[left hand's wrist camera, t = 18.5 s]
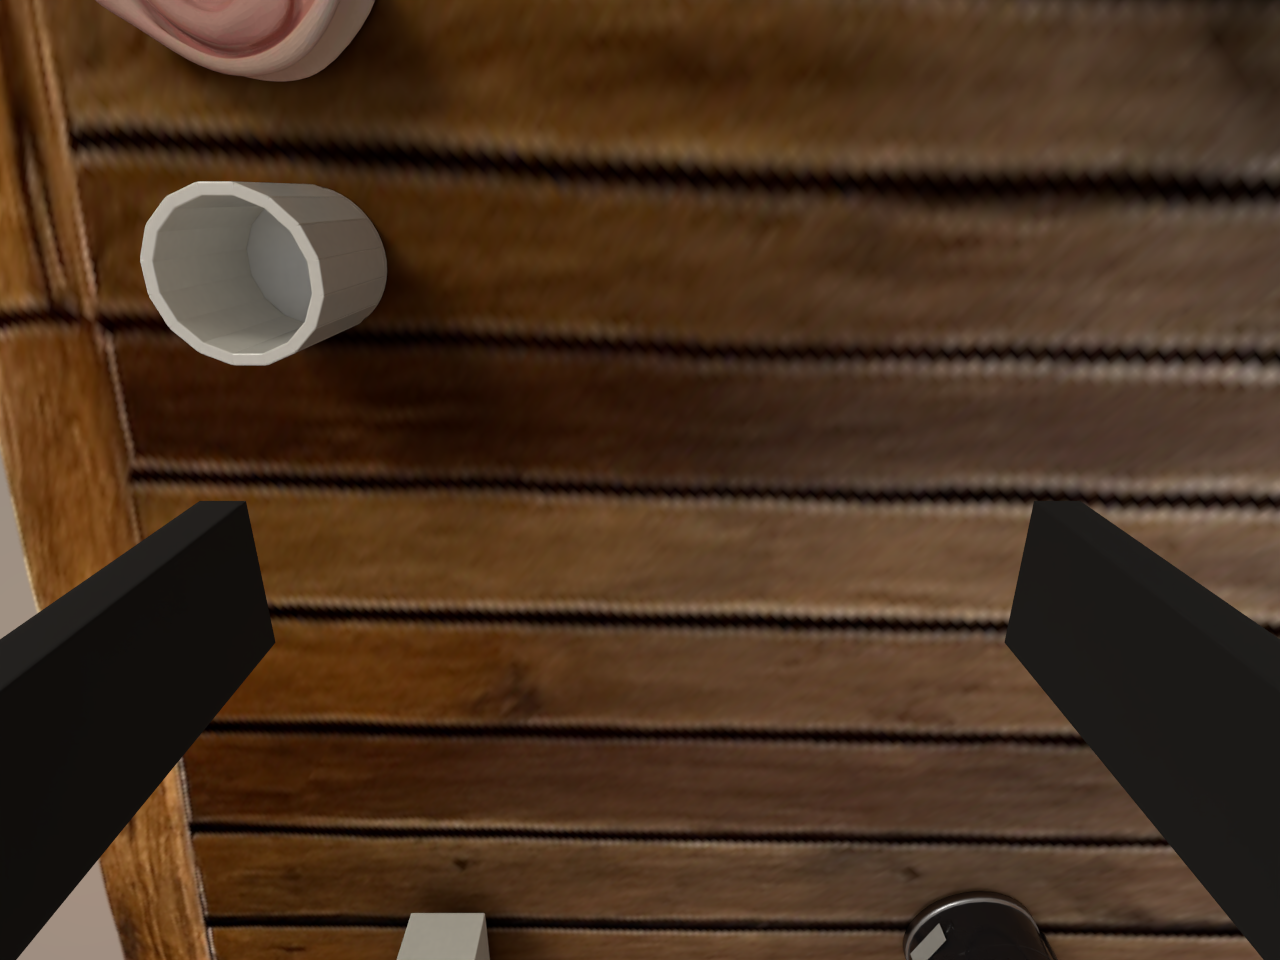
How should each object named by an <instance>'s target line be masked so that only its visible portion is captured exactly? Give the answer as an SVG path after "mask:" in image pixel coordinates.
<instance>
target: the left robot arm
mask: <svg viewBox="0 0 1280 960" xmlns="http://www.w3.org/2000/svg"><path fill="white" fill-rule="evenodd" d="M274 643H275V638H274V634H273V629H272V624H271V619H270V614H269V610H268V605H267V600H266V595H265V591H264V586H263V581H262V576H261V571H260V567H259V562H258V557H257V552H256V547H255V543H254V538H253V533H252V528H251V524H250V519H249V514H248V509H247V504H246V501H199V502H198V503H196V504H195V505H193V506H192V507H191V508H189V509H188V510H186V511H185V512H183V513H182V514H180V515H179V516H178V517H176V518H175V519H173V520H172V521H170V522H169V523H167V524H166V525H165V526H163V527H162V528H160V529H159V530H157V531H156V532H155V533H153V534H152V535H150V536H149V537H147V538H146V539H144V540H143V541H142V542H140V543H139V544H137V545H136V546H134V547H133V548H131V549H130V550H129V551H127V552H126V553H124V554H123V555H121V556H120V557H118V558H117V559H116V560H114V561H113V562H111V563H110V564H108V565H107V566H105V567H104V568H103V569H101V570H100V571H98V572H97V573H95V574H94V575H92V576H91V577H90V578H88V579H87V580H85V581H84V582H82V583H81V584H79V585H78V586H77V587H75V588H74V589H72V590H71V591H69V592H68V593H66V594H65V595H64V596H62V597H61V598H59V599H58V600H56V601H55V602H54V603H52V604H51V605H49V606H48V607H46V608H45V609H43V610H42V611H41V612H39V613H38V614H36V615H35V616H33V617H32V618H30V619H29V620H28V621H26V622H25V623H23V624H22V625H20V626H19V627H17V628H16V629H15V630H13V631H12V632H10V633H9V634H7V635H6V636H4V637H3V638H2V639H0V960H16V959H17V958H18V957H19V956H20V954H21V953H22V952H23V951H24V950H25V948H26V947H27V946H28V945H29V943H30V942H31V941H32V940H33V938H34V937H35V936H36V935H37V934H38V932H39V931H40V930H41V929H42V928H43V926H44V925H45V924H46V923H47V921H48V920H49V919H50V918H51V916H52V915H53V914H54V913H55V912H56V910H57V909H58V908H59V907H60V905H61V904H62V903H63V902H64V901H65V899H66V898H67V897H68V896H69V894H70V893H71V892H72V891H73V890H74V888H75V887H76V886H77V885H78V883H79V882H80V881H81V880H82V879H83V877H84V876H85V875H86V874H87V872H88V871H89V870H90V869H91V868H92V866H93V865H94V864H95V863H96V861H97V860H98V859H99V858H100V857H101V855H102V854H103V853H104V852H105V850H106V849H107V848H108V847H109V845H110V844H111V843H112V842H113V841H114V839H115V838H116V837H117V836H118V834H119V833H120V832H121V831H122V830H123V828H124V827H125V826H126V825H127V823H128V822H129V821H130V820H131V819H132V817H133V816H134V815H135V814H136V812H137V811H138V810H139V809H140V808H141V806H142V805H143V804H144V803H145V801H146V800H147V799H148V798H149V797H150V795H151V794H152V793H153V792H154V790H155V789H156V788H157V787H158V786H159V784H160V783H161V782H162V781H163V779H164V778H165V777H166V776H167V774H168V773H169V772H170V771H171V770H172V768H173V767H174V766H175V765H176V763H177V762H178V761H179V760H180V759H181V757H182V756H183V755H184V754H185V752H186V751H187V750H188V749H189V748H190V746H191V745H192V744H193V743H194V741H195V740H196V739H197V738H198V737H199V735H200V734H201V733H202V732H203V730H204V729H205V728H206V727H207V726H208V724H209V723H210V722H211V721H212V719H213V718H214V717H215V716H216V715H217V713H218V712H219V711H220V710H221V708H222V707H223V706H224V705H225V703H226V702H227V701H228V700H229V699H230V697H231V696H232V695H233V694H234V692H235V691H236V690H237V689H238V688H239V686H240V685H241V684H242V683H243V681H244V680H245V679H246V678H247V677H248V675H249V674H250V673H251V672H252V670H253V669H254V668H255V667H256V666H257V664H258V663H259V662H260V661H261V659H262V658H263V657H264V656H265V655H266V653H267V652H268V651H269V650H270V648H271V647H272V646H273V645H274ZM1005 643H1006V645H1007V646H1008V647H1009V648H1010V650H1011V651H1012V652H1013V653H1014V655H1015V656H1016V657H1017V658H1018V659H1019V661H1020V662H1021V663H1022V664H1023V666H1024V667H1025V668H1026V669H1027V670H1028V672H1029V673H1030V674H1031V675H1032V677H1033V678H1034V679H1035V680H1036V681H1037V683H1038V684H1039V685H1040V686H1041V688H1042V689H1043V690H1044V691H1045V692H1046V694H1047V695H1048V696H1049V697H1050V699H1051V700H1052V701H1053V702H1054V703H1055V705H1056V706H1057V707H1058V708H1059V710H1060V711H1061V712H1062V713H1063V715H1064V716H1065V717H1066V718H1067V719H1068V721H1069V722H1070V723H1071V724H1072V726H1073V727H1074V728H1075V729H1076V730H1077V732H1078V733H1079V734H1080V735H1081V737H1082V738H1083V739H1084V740H1085V741H1086V743H1087V744H1088V745H1089V746H1090V748H1091V749H1092V750H1093V751H1094V752H1095V754H1096V755H1097V756H1098V757H1099V759H1100V760H1101V761H1102V762H1103V763H1104V765H1105V766H1106V767H1107V768H1108V770H1109V771H1110V772H1111V773H1112V774H1113V776H1114V777H1115V778H1116V779H1117V781H1118V782H1119V783H1120V784H1121V786H1122V787H1123V788H1124V789H1125V790H1126V792H1127V793H1128V794H1129V795H1130V797H1131V798H1132V799H1133V800H1134V801H1135V803H1136V804H1137V805H1138V806H1139V808H1140V809H1141V810H1142V811H1143V812H1144V814H1145V815H1146V816H1147V817H1148V819H1149V820H1150V821H1151V822H1152V823H1153V825H1154V826H1155V827H1156V828H1157V830H1158V831H1159V832H1160V833H1161V834H1162V836H1163V837H1164V838H1165V839H1166V841H1167V842H1168V843H1169V844H1170V845H1171V847H1172V848H1173V849H1174V850H1175V852H1176V853H1177V854H1178V855H1179V857H1180V858H1181V859H1182V860H1183V861H1184V863H1185V864H1186V865H1187V866H1188V868H1189V869H1190V870H1191V871H1192V872H1193V874H1194V875H1195V876H1196V877H1197V879H1198V880H1199V881H1200V882H1201V883H1202V885H1203V886H1204V887H1205V888H1206V890H1207V891H1208V892H1209V893H1210V894H1211V896H1212V897H1213V898H1214V899H1215V901H1216V902H1217V903H1218V904H1219V905H1220V907H1221V908H1222V909H1223V910H1224V912H1225V913H1226V914H1227V915H1228V916H1229V918H1230V919H1231V920H1232V921H1233V923H1234V924H1235V925H1236V926H1237V928H1238V929H1239V930H1240V931H1241V932H1242V934H1243V935H1244V936H1245V937H1246V939H1247V940H1248V941H1249V942H1250V943H1251V945H1252V946H1253V947H1254V948H1255V950H1256V951H1257V952H1258V953H1259V954H1260V956H1261V957H1262V958H1263V959H1264V960H1280V639H1278V638H1277V637H1276V636H1274V635H1273V634H1271V633H1270V632H1268V631H1267V630H1265V629H1264V628H1263V627H1261V626H1260V625H1258V624H1257V623H1255V622H1254V621H1252V620H1251V619H1250V618H1248V617H1247V616H1245V615H1244V614H1242V613H1241V612H1239V611H1238V610H1237V609H1235V608H1234V607H1232V606H1231V605H1229V604H1228V603H1226V602H1225V601H1224V600H1222V599H1221V598H1219V597H1218V596H1216V595H1215V594H1214V593H1212V592H1211V591H1209V590H1208V589H1206V588H1205V587H1203V586H1202V585H1201V584H1199V583H1198V582H1196V581H1195V580H1193V579H1192V578H1190V577H1189V576H1188V575H1186V574H1185V573H1183V572H1182V571H1180V570H1179V569H1177V568H1176V567H1175V566H1173V565H1172V564H1170V563H1169V562H1167V561H1166V560H1164V559H1163V558H1162V557H1160V556H1159V555H1157V554H1156V553H1154V552H1153V551H1151V550H1150V549H1149V548H1147V547H1146V546H1144V545H1143V544H1141V543H1140V542H1138V541H1137V540H1136V539H1134V538H1133V537H1131V536H1130V535H1128V534H1127V533H1125V532H1124V531H1123V530H1121V529H1120V528H1118V527H1117V526H1115V525H1114V524H1113V523H1111V522H1110V521H1108V520H1107V519H1105V518H1104V517H1102V516H1101V515H1100V514H1098V513H1097V512H1095V511H1094V510H1092V509H1091V508H1089V507H1088V506H1087V505H1085V504H1084V503H1082V502H1081V501H1034V504H1033V509H1032V514H1031V519H1030V524H1029V528H1028V533H1027V538H1026V543H1025V547H1024V552H1023V557H1022V562H1021V567H1020V571H1019V576H1018V581H1017V586H1016V591H1015V595H1014V600H1013V605H1012V610H1011V614H1010V619H1009V624H1008V629H1007V634H1006V638H1005Z"/></svg>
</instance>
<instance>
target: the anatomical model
mask: <svg viewBox="0 0 1280 960" xmlns="http://www.w3.org/2000/svg"><path fill="white" fill-rule="evenodd" d="M96 1H97V2H98V3H99V4H100V5H102V6H103V7H105V8H106V9H107V10H109V11H110V12H112V13H114V14H115V15H117V16H119V17H120V18H122V19H124V20H125V21H127V22H128V23H130V24H132V25H133V26H135V27H137V28H138V29H140V30H141V31H143V32H144V33H146V34H147V35H149V36H151V37H152V38H154V39H155V40H157V41H158V42H160V43H161V44H163V45H164V46H166V47H167V48H169V49H171V50H172V51H174V52H176V53H177V54H179V55H181V56H182V57H184V58H186V59H188V60H190V61H192V62H194V63H196V64H198V65H200V66H203V67H205V68H207V69H210V70H213V71H216V72H220V73H223V74H228V75H236V76H245V77H248V78H253V79H258V80H266V81H293V80H299V79H303V78H307V77H310V76H312V75H314V74H316V73H318V72H320V71H321V70H323V69H324V68H325V67H327V66H328V65H329V64H330V63H331V62H333V61H334V60H335V59H336V58H337V57H338V56H339V55H340V54H341V53H342V51H343V50H344V49H345V48H346V47H347V46H348V45H349V44H350V42H351V41H352V40H353V38H354V37H355V36H356V34H357V33H358V31H359V30H360V29H361V27H362V25H363V24H364V22H365V20H366V18H367V17H368V15H369V13H370V11H371V9H372V6H373V4H374V2H375V0H96Z"/></svg>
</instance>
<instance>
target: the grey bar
mask: <svg viewBox="0 0 1280 960" xmlns="http://www.w3.org/2000/svg"><path fill="white" fill-rule="evenodd" d="M397 960H490V956H489V947H488V937H487V928H486V918H485V913H411V916H410V919H409V922H408V926H407V929H406V932H405V935H404V938H403V941H402V945H401V948H400V951H399V954H398V957H397Z"/></svg>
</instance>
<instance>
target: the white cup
mask: <svg viewBox="0 0 1280 960" xmlns="http://www.w3.org/2000/svg"><path fill="white" fill-rule="evenodd" d="M140 259H141V260H140V262H141V266H142V270H143V275H144V279H145V283H146V287H147V292H148V295H150V296H149V297H150V299H151V300H152V302H153V303H154V305H155V307H156V308H157V310H158V311H159V313H160V314H161V316H162V317H163V319H164V321H165V322H166V324H167V325H168V327H169V328H170V329H171V330H172V331H173V332H175V333H176V334H177V335H178V336H180V337H181V338H182V339H183V340H184V341H186V342H187V343H188V344H189V345H191V346H192V347H193V348H194V349H195V350H197V351H198V352H200V353H202V354H205V355H207V356H210V357H212V358H215V359H218V360H220V361H223V362H226V363H228V364H231V365H269V364H272V363H274V362H276V361H278V360H281V359H283V358H285V357H288V356H290V355H292V354H294V353H297V352H299V351H301V350H303V349H305V348H307V347H310V346H312V345H314V344H316V343H318V342H321V341H323V340H325V339H327V338H329V337H332V336H334V335H336V334H338V333H340V332H343V331H345V330H347V329H349V328H351V327H354V326H356V325H358V324H359V323H361V322H362V321H363V320H364V319H366V318H367V317H368V316H369V315H370V314H371V313H372V312H373V310H374V309H375V308H376V306H377V305H378V303H379V301H380V299H381V297H382V295H383V292H384V289H385V284H386V279H387V261H386V255H385V250H384V247H383V244H382V241H381V239H380V236H379V234H378V232H377V230H376V229H375V227H374V225H373V224H372V222H371V221H370V220H369V218H368V217H367V216H366V214H365V213H364V212H363V211H362V210H361V209H360V208H359V207H358V206H356V205H355V204H354V203H353V202H352V201H350V200H349V199H347V198H346V197H344V196H343V195H341V194H339V193H337V192H335V191H333V190H330V189H327V188H324V187H320V186H316V185H312V184H288V183H260V182H194V183H192V184H190V185H188V186H186V187H184V188H182V189H180V190H178V191H176V192H174V193H172V194H170V195H168V196H166V198H164V200H163V201H162V202H161V204H160V205H159V207H158V208H157V209H156V211H155V212H154V213H153V215H152V216H151V218H150V219H149V220H148V222H147V223H146V226H145V231H144V237H143V244H142V250H141V256H140Z"/></svg>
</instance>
